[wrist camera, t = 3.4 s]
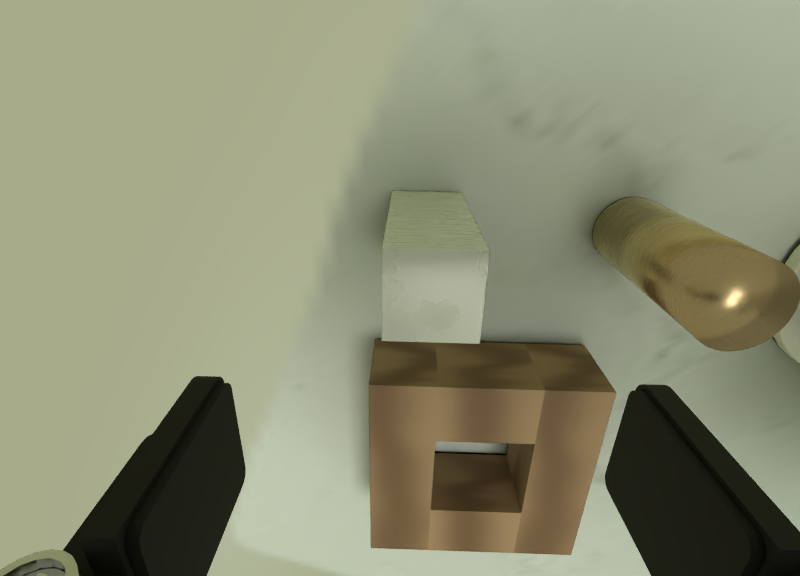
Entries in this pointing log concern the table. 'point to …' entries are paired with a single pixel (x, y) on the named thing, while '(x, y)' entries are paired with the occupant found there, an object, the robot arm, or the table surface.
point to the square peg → (432, 269)
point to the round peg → (698, 274)
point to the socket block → (489, 423)
